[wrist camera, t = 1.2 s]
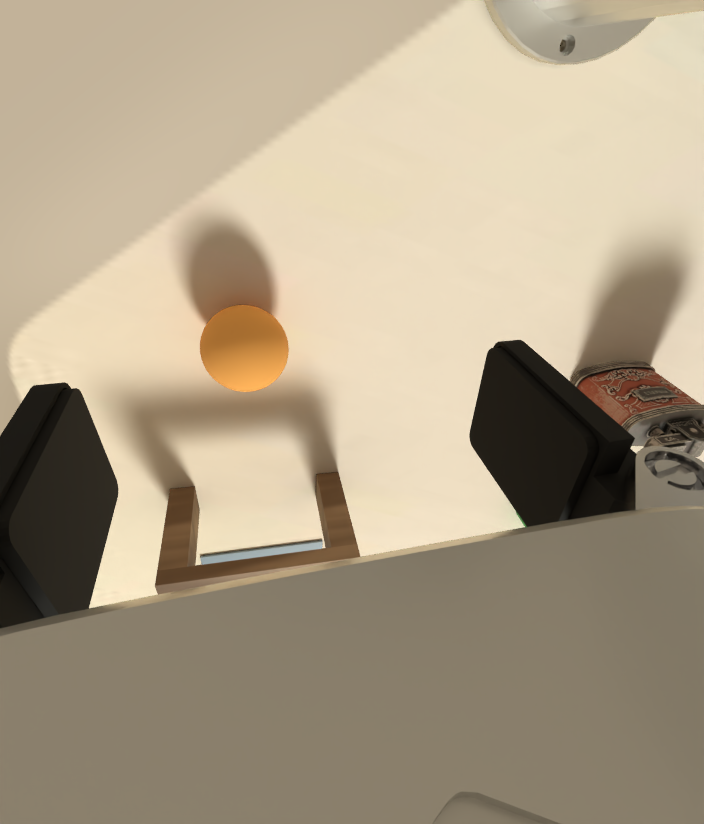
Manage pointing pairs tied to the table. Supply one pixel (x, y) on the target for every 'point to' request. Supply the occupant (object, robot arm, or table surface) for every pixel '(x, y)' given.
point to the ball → (244, 348)
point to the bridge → (183, 573)
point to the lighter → (645, 405)
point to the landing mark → (261, 552)
